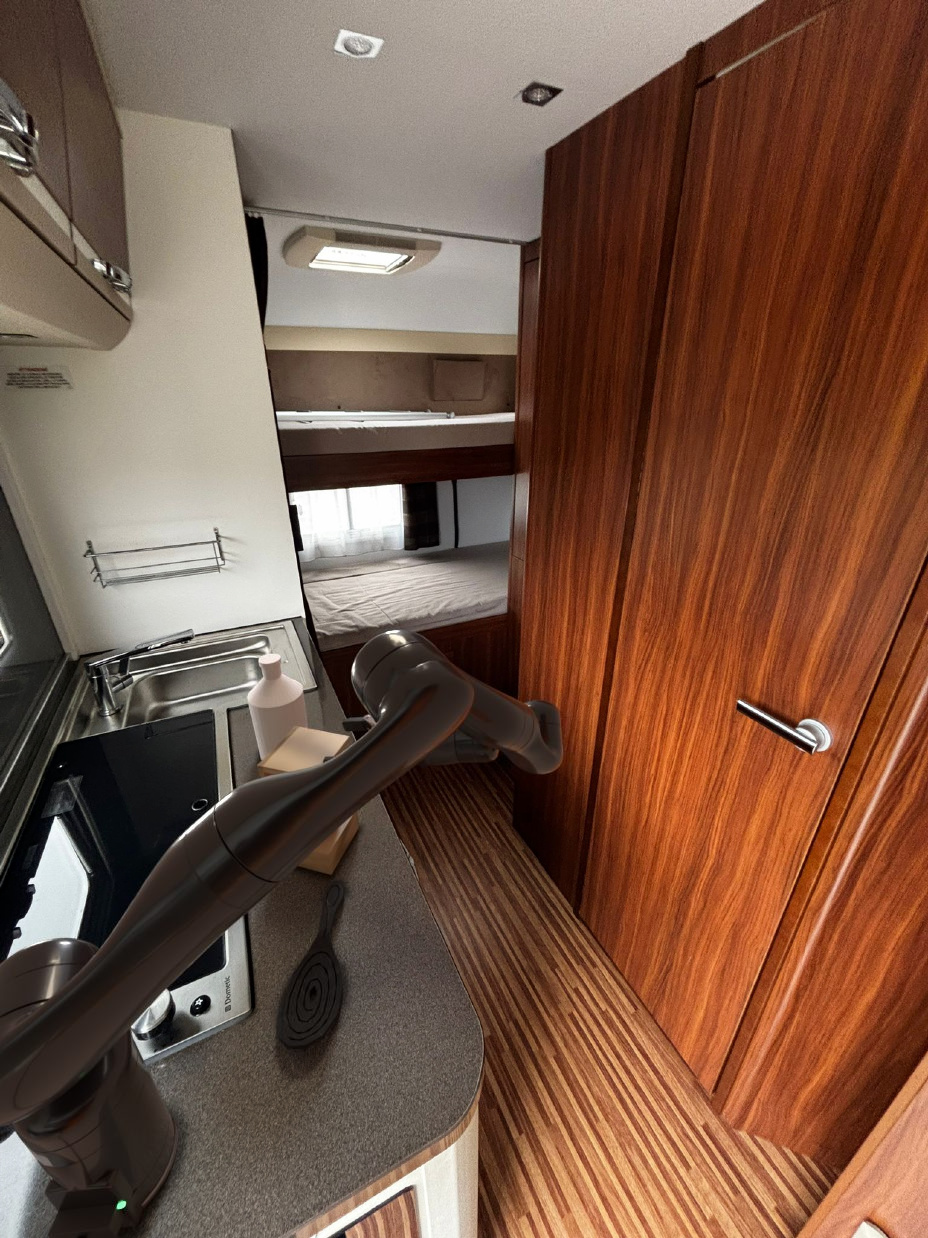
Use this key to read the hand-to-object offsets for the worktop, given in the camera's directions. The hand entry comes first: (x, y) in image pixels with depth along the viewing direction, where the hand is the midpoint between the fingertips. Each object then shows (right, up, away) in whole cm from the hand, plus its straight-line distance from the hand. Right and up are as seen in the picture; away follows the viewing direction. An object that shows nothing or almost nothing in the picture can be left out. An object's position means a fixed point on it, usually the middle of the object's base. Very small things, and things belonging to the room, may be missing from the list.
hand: (334, 743), depth 79 cm
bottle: (-22, -11, +38) cm, 46 cm away
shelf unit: (-7, -23, +14) cm, 27 cm away
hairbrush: (-1, -31, -5) cm, 32 cm away
